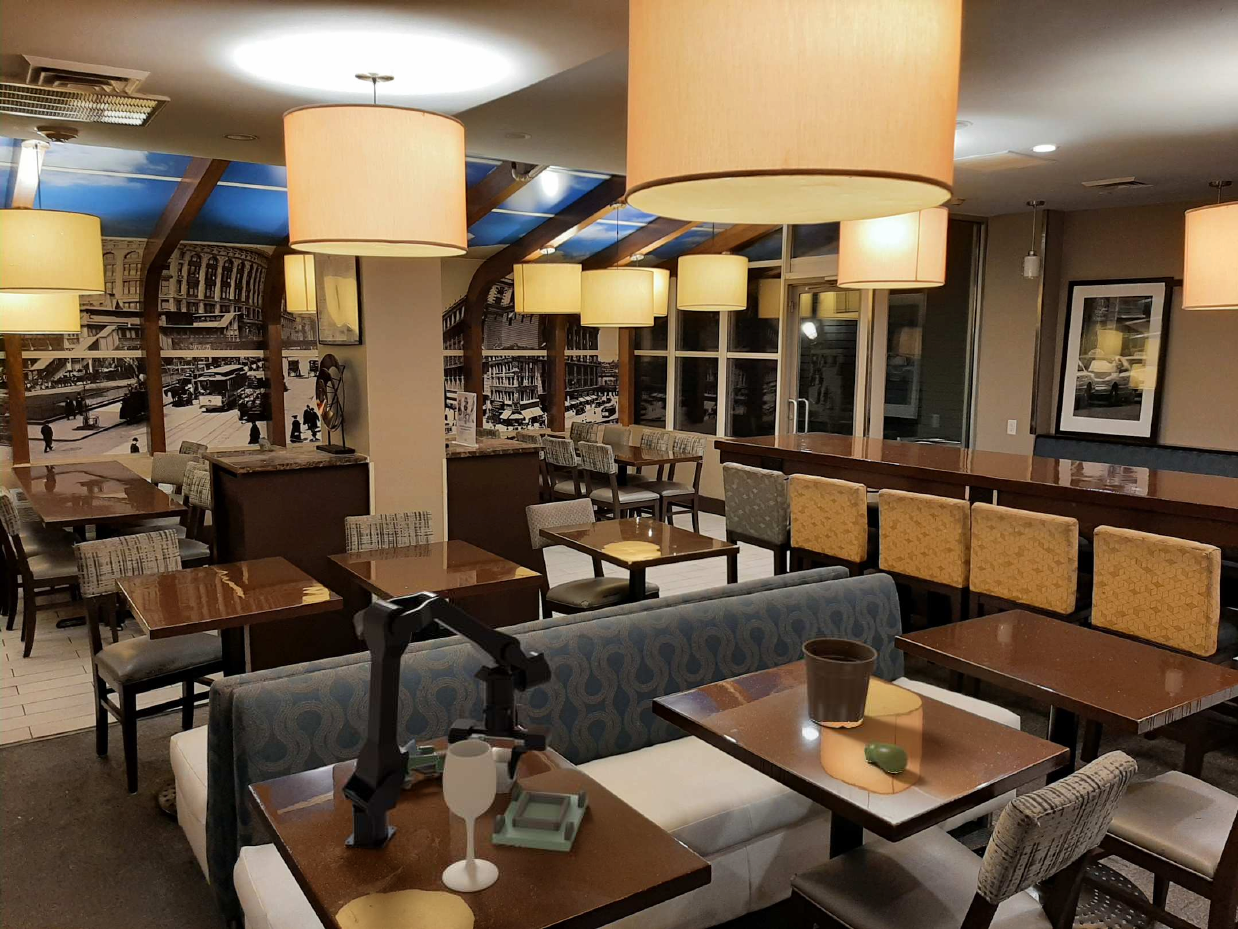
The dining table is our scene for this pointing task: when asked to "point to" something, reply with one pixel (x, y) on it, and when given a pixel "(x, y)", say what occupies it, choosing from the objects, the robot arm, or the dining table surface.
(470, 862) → the wineglass
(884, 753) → the pear
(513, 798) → the chassis
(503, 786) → the white block
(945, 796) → the dining table surface
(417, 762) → the hoverbike
